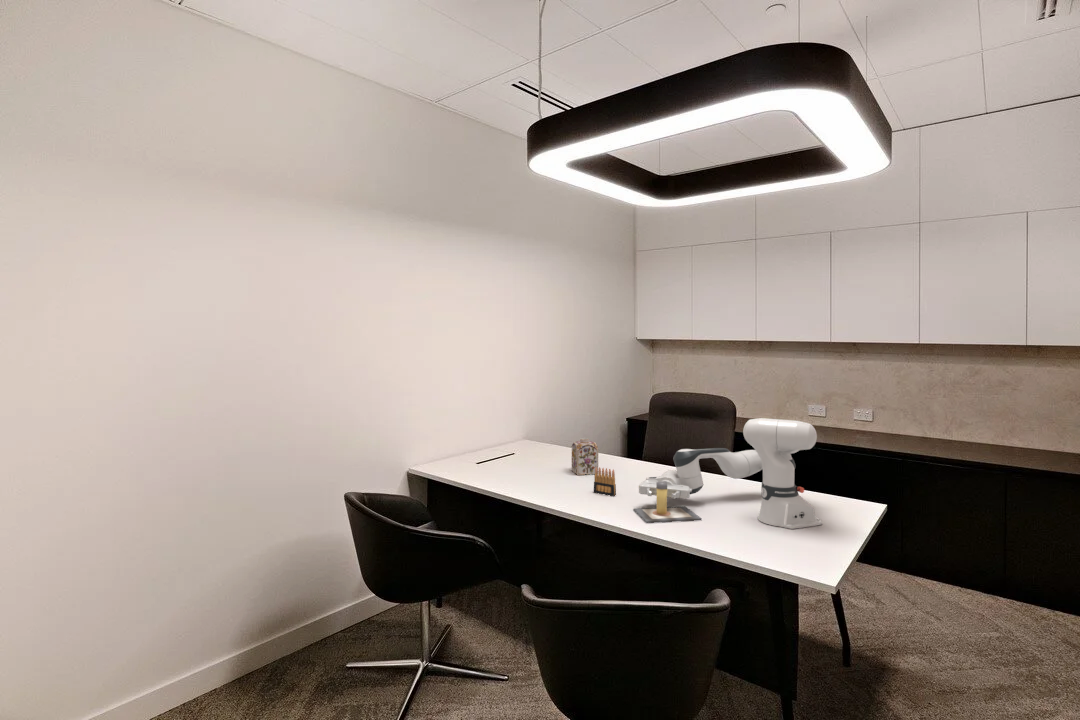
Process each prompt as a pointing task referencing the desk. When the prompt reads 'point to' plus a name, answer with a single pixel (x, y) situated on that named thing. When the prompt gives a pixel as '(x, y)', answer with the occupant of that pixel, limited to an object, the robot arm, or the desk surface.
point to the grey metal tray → (672, 514)
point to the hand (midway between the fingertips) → (661, 495)
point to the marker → (661, 498)
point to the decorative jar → (584, 457)
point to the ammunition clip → (604, 482)
